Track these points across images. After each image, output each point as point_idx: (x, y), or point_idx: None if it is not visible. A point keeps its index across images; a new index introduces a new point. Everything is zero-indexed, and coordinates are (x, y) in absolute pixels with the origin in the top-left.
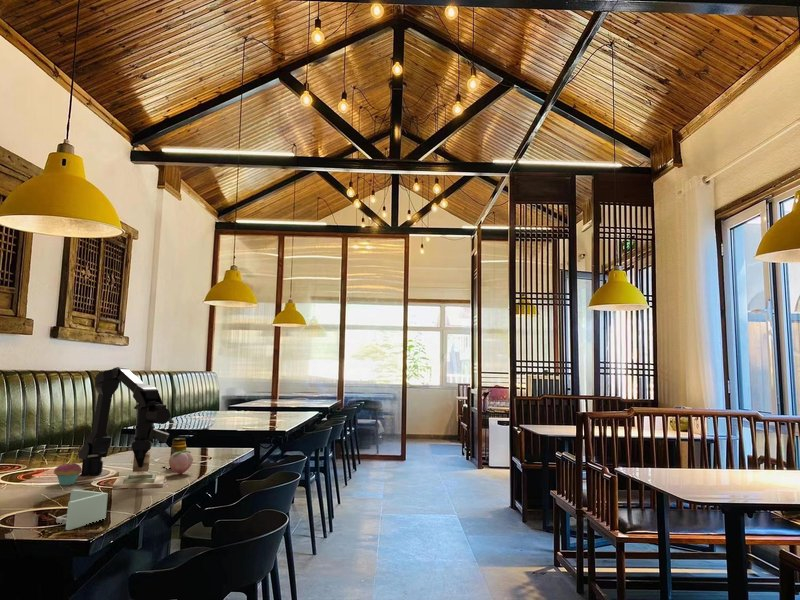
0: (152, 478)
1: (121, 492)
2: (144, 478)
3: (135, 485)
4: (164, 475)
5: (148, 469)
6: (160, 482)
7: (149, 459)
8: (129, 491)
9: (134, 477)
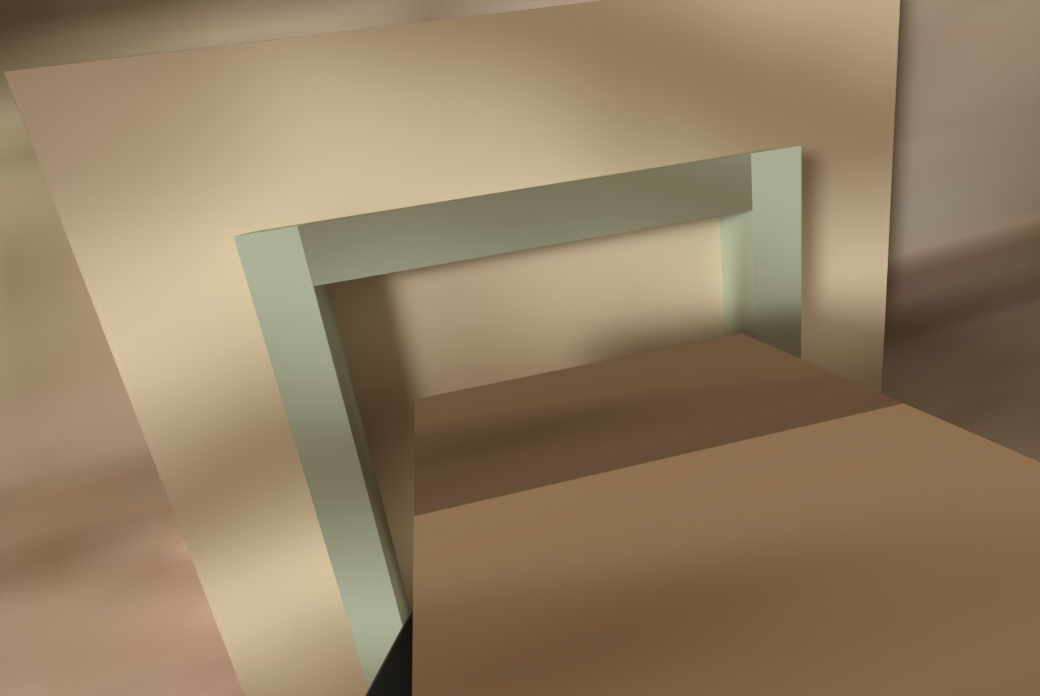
0: (770, 192)
1: (1026, 445)
2: (405, 400)
3: (870, 382)
4: (20, 82)
5: (561, 374)
6: (807, 31)
7: (542, 525)
8: (1003, 379)
9: (396, 560)
